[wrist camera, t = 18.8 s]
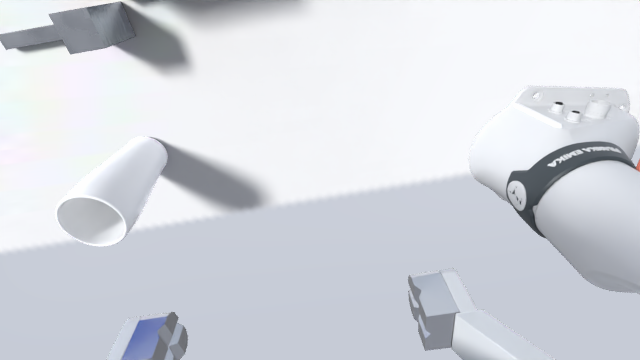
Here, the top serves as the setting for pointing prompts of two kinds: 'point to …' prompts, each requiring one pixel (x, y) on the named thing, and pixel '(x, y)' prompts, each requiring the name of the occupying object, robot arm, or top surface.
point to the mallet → (78, 29)
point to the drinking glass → (112, 194)
